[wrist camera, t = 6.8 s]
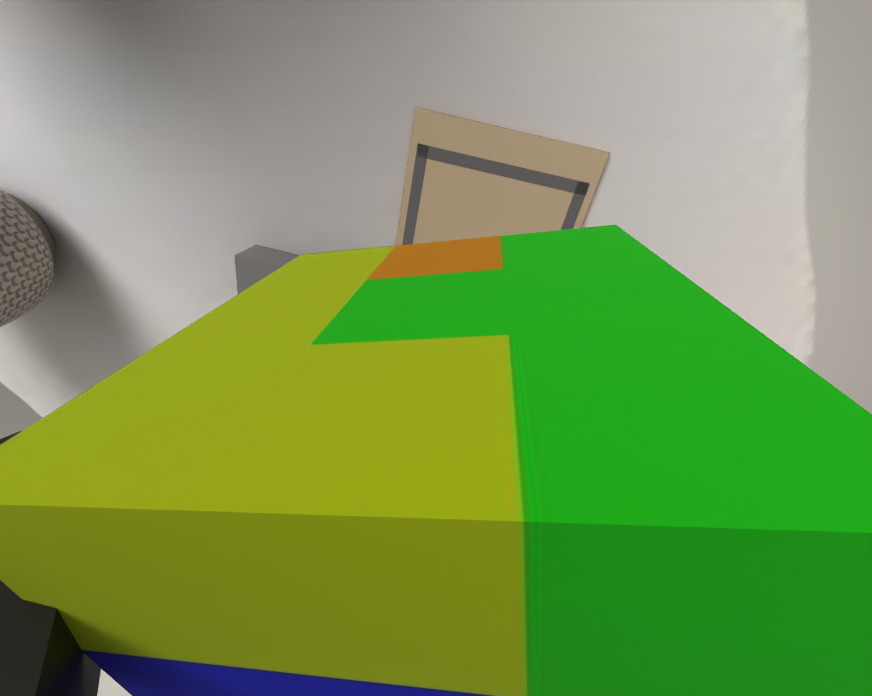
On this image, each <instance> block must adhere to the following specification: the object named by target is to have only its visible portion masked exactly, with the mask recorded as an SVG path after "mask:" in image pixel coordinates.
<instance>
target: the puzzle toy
mask: <svg viewBox="0 0 872 696" xmlns="http://www.w3.org/2000/svg"><path fill="white" fill-rule="evenodd" d="M0 580H1V581H2V582H3V583H4V584H5V585H7V586H8V587H9V588H10V589H11V590H12V591H13V592H15V593H16V594H17V595H18V596H19V597H20V598H21V599H23V600H27V601H31V602H35V603H39V604H42V605H46V606H50V607H54V608H57V610H58V611H59V613H60V615H61V616H62V618H63V620H64V621H65V623H66V625H67V626H68V628H69V630H70V631H71V633H72V635H73V636H74V638H75V639H76V641H77V643H78V644H79V646H80V648H81V649H82V651H83V653H84V654H85V655H87V656H88V657H89V658H90V659H91V660H92V661H93V662H95V663H96V664H97V665H98V666H99V667H100V668H101V669H103V670H104V671H105V672H106V673H107V674H108V675H110V676H111V677H112V678H113V679H114V680H115V681H116V682H118V684H120V685H121V686H122V687H123V688H124V689H125V690H127V691H128V692H129V693H130V694H131V695H132V696H872V415H871V414H870V413H869V412H868V411H866V410H865V409H863V408H862V407H861V406H859V405H858V404H857V403H855V402H854V401H853V400H851V399H850V398H849V397H847V396H846V395H845V394H843V393H842V392H841V391H839V390H838V389H837V388H835V387H834V386H833V385H831V384H830V383H828V382H827V381H826V380H824V379H823V378H822V377H820V376H819V375H818V374H816V373H815V372H814V371H812V370H811V369H810V368H808V367H807V366H806V365H804V364H803V363H801V362H800V361H799V360H797V359H796V358H795V357H793V356H792V355H791V354H789V353H788V352H787V351H785V350H784V349H783V348H781V347H780V346H779V345H777V344H776V343H774V342H773V341H772V340H770V339H769V338H768V337H766V336H765V335H764V334H762V333H761V332H760V331H758V330H757V329H756V328H754V327H753V326H752V325H750V324H749V323H747V322H746V321H745V320H743V319H742V318H741V317H739V316H738V315H737V314H735V313H734V312H733V311H731V310H730V309H729V308H727V307H726V306H725V305H723V304H722V303H720V302H719V301H718V300H716V299H715V298H714V297H712V296H711V295H710V294H708V293H707V292H706V291H704V290H703V289H702V288H700V287H699V286H698V285H696V284H695V283H693V282H692V281H691V280H689V279H688V278H687V277H685V276H684V275H683V274H681V273H680V272H679V271H677V270H676V269H675V268H673V267H672V266H671V265H669V264H668V263H667V262H665V261H664V260H662V259H661V258H660V257H658V256H657V255H656V254H654V253H653V252H652V251H650V250H649V249H648V248H646V247H645V246H644V245H642V244H641V243H640V242H638V241H637V240H635V239H634V238H633V237H631V236H630V235H629V234H627V233H626V232H625V231H623V230H622V229H621V228H619V227H618V226H617V225H609V226H599V227H588V228H577V229H567V230H556V231H546V232H535V233H525V234H514V235H503V236H493V237H482V238H472V239H461V240H451V241H440V242H429V243H419V244H408V245H398V246H387V247H377V248H366V249H355V250H345V251H334V252H324V253H313V254H302V255H300V256H298V257H297V258H295V259H293V260H292V261H290V262H289V263H287V264H286V265H284V266H282V267H281V268H279V269H278V270H276V271H274V272H273V273H271V274H270V275H268V276H267V277H265V278H263V279H262V280H260V281H259V282H257V283H255V284H254V285H252V286H251V287H249V288H248V289H246V290H244V291H243V292H241V293H240V294H238V295H237V296H235V297H233V298H232V299H230V300H229V301H227V302H225V303H224V304H222V305H221V306H219V307H218V308H216V309H214V310H213V311H211V312H210V313H208V314H206V315H205V316H203V317H202V318H200V319H199V320H197V321H195V322H194V323H192V324H191V325H189V326H187V327H186V328H184V329H183V330H181V331H180V332H178V333H176V334H175V335H173V336H172V337H170V338H168V339H167V340H165V341H164V342H162V343H161V344H159V345H157V346H156V347H154V348H153V349H151V350H150V351H148V352H146V353H145V354H143V355H142V356H140V357H138V358H137V359H135V360H134V361H132V362H131V363H129V364H127V365H126V366H124V367H123V368H121V369H119V370H118V371H116V372H115V373H113V374H112V375H110V376H108V377H107V378H105V379H104V380H102V381H100V382H99V383H97V384H96V385H94V386H93V387H91V388H89V389H88V390H86V391H85V392H83V393H82V394H80V395H78V396H77V397H75V398H74V399H72V400H70V401H69V402H67V403H66V404H64V405H63V406H61V407H59V408H58V409H56V410H55V411H53V412H51V413H50V414H48V415H47V416H45V417H44V418H42V419H41V420H39V421H37V422H36V423H34V424H32V425H31V426H29V427H28V428H26V429H25V430H23V431H21V432H20V433H18V434H17V435H15V436H13V437H12V438H10V439H9V440H7V441H6V442H4V443H2V444H1V445H0Z"/></svg>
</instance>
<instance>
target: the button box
mask: <svg viewBox="0 0 872 696" xmlns="http://www.w3.org/2000/svg"><path fill="white" fill-rule="evenodd" d="M298 256H300V255H296V254H292V253H287V252H283V251H279V250H275V249H270V248H266V247H262V246H258V245H255V246H253V247H251V248H249V249H247V250H245V251H243V252H241V253H239V254H237V255H235V263H236V276H237V289H238V294H240V293H241V292H243V291H244V290H246V289H248V288H249V287H251V286H252V285H254V284H255V283H257V282H259V281H260V280H262V279H263V278H265V277H267V276H268V275H270V274H271V273H273V272H274V271H276V270H278V269H279V268H281V267H282V266H284V265H286V264H287V263H289V262H290V261H292V260H293V259H295V258H297V257H298Z"/></svg>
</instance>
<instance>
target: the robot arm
mask: <svg viewBox="0 0 872 696" xmlns="http://www.w3.org/2000/svg"><path fill="white" fill-rule="evenodd" d="M20 432H21V431H20ZM20 432H17V433H15V434H12V435H10V436H7V437H5V438H2V439H0V445H1V444H2V443H4V442H6V441H7V440H9V439H10V438H12V437H13V436H15V435H17V434H18V433H20ZM100 671H101V668H100V667H99V666H98V665H97V664H96V663H95V662H93V661H92V660H91V659H90V658H89V657H88V656H87V655H85V654H84V653H83V651H82V649H81V648H80V646H79V644H78V643H77V641H76V639H75V638H74V636H73V635H72V633H71V631H70V630H69V628H68V626H67V625H66V623H65V621H64V620H63V618H62V616H61V615H60V613H59V611H58V610H57V608H54V607H50V606H46V605H42V604H39V603H35V602H31V601H27V600H23V599H21V598H20V597H19V596H18V595H17V594H16V593H15V592H13V591H12V590H11V589H10V588H9V587H8V586H7V585H5V584H4V583H3V582H2V581H1V580H0V696H97V692H98V685H99V678H100Z"/></svg>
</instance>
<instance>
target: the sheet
mask: <svg viewBox="0 0 872 696" xmlns="http://www.w3.org/2000/svg"><path fill="white" fill-rule="evenodd" d="M608 156H609V152H605V151H601V150H596V149H592V148H588V147H584V146H579V145H575V144H571V143H566V142H562V141H558V140H553V139H549V138H545V137H541V136H536V135H532V134H528V133H523V132H519V131H515V130H510V129H506V128H502V127H498V126H493V125H489V124H485V123H480V122H476V121H472V120H467V119H463V118H459V117H455V116H450V115H446V114H442V113H437V112H433V111H429V110H424V109H420V108H415V115H414V122H413V129H412V136H411V143H410V149H409V156H408V163H407V170H406V177H405V184H404V191H403V198H402V205H401V212H400V219H399V225H398V232H397V239H396V246H398V245H408V244H419V243H429V242H440V241H451V240H461V239H472V238H482V237H493V236H503V235H514V234H525V233H535V232H546V231H556V230H567V229H577V228H581V225H582V223H583V220H584V218H585V215H586V213H587V210H588V207H589V205H590V202H591V200H592V197H593V195H594V192H595V189H596V187H597V184H598V182H599V179H600V177H601V174H602V171H603V169H604V166H605V164H606V161H607V159H608Z"/></svg>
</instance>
